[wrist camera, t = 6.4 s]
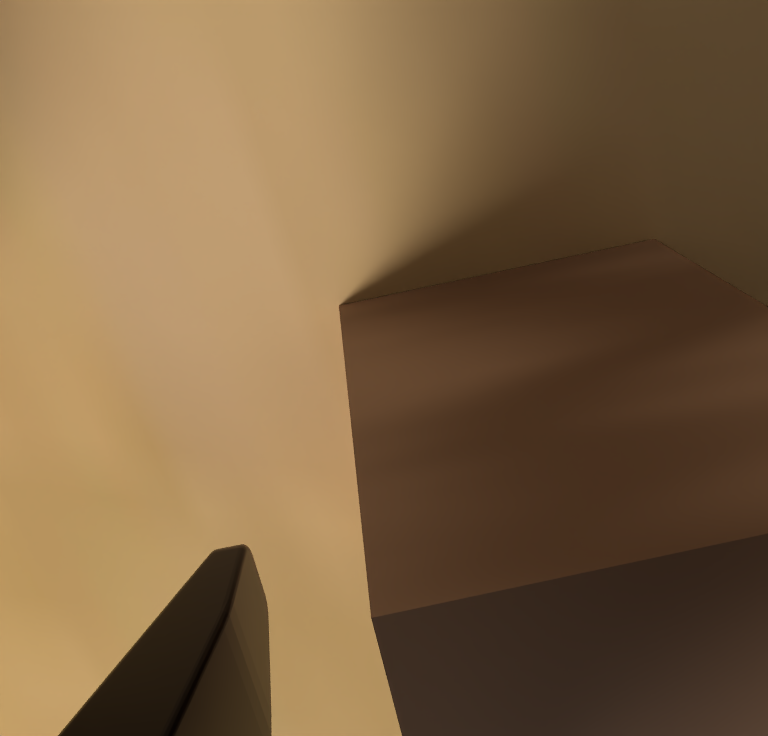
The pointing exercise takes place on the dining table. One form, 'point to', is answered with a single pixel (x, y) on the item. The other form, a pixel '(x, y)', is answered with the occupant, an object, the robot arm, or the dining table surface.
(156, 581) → the dining table surface
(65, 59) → the dining table surface
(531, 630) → the walnut block
